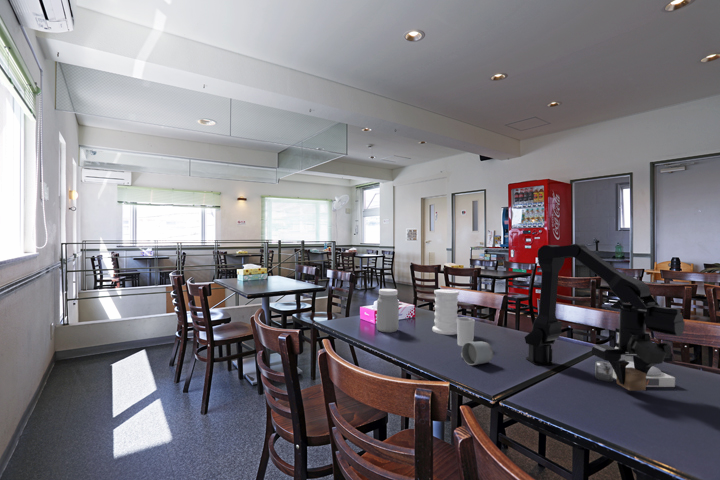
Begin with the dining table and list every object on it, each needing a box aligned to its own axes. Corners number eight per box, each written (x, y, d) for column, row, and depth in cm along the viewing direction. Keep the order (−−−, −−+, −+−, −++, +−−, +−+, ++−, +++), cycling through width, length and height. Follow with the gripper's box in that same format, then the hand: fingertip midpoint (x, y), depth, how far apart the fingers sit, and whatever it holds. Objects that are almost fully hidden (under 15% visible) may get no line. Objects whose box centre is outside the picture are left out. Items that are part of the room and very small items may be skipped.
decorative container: (438, 335, 152) (439, 293, 152) (428, 328, 163) (429, 289, 163) (463, 334, 154) (464, 292, 154) (451, 327, 165) (452, 289, 165)
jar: (402, 330, 158) (403, 290, 158) (389, 334, 151) (389, 292, 151) (385, 326, 165) (386, 287, 165) (371, 329, 158) (372, 289, 158)
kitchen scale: (632, 387, 101) (632, 375, 101) (600, 370, 113) (601, 360, 113) (676, 387, 101) (676, 375, 101) (640, 371, 114) (640, 360, 114)
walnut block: (629, 390, 95) (629, 373, 95) (616, 383, 99) (616, 367, 99) (645, 390, 95) (646, 373, 95) (632, 383, 99) (632, 367, 99)
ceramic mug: (494, 365, 116) (495, 342, 117) (476, 368, 113) (476, 345, 113) (472, 356, 126) (472, 335, 126) (454, 359, 122) (455, 337, 122)
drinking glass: (477, 345, 138) (478, 320, 138) (466, 348, 134) (467, 321, 134) (464, 341, 143) (464, 316, 143) (452, 343, 139) (453, 318, 139)
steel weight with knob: (602, 381, 105) (602, 366, 105) (591, 375, 109) (592, 360, 109) (616, 381, 105) (616, 366, 105) (605, 375, 109) (605, 361, 109)
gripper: (622, 334, 88) (620, 397, 89) (693, 335, 89) (692, 397, 89) (591, 324, 100) (589, 379, 100) (655, 324, 100) (653, 379, 100)
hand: (630, 384), depth 97 cm, fingers closed on walnut block, 4 cm apart
